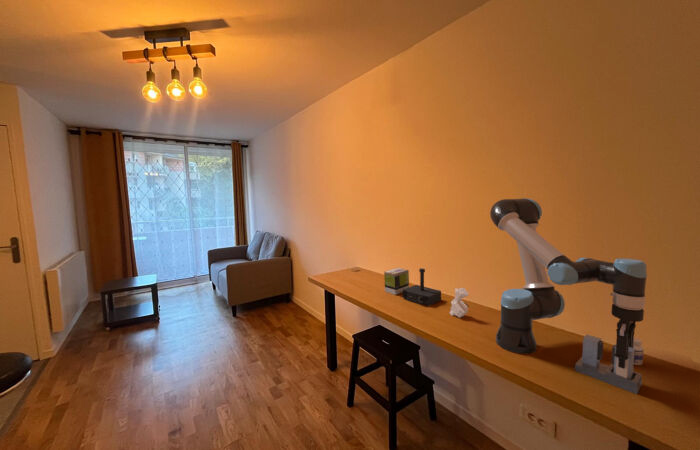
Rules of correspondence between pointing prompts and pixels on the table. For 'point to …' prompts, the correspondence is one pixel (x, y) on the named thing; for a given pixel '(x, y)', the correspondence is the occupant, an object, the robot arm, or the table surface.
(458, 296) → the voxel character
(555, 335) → the table surface
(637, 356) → the pill bottle
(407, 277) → the tea box
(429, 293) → the dark box with post
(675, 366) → the table surface
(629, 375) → the long gray rectangular block
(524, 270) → the robot arm
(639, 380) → the grey block fixture
